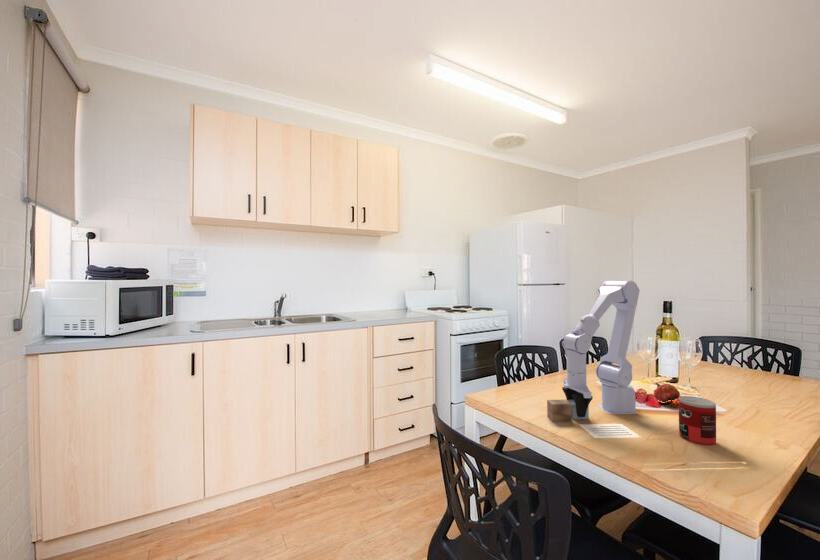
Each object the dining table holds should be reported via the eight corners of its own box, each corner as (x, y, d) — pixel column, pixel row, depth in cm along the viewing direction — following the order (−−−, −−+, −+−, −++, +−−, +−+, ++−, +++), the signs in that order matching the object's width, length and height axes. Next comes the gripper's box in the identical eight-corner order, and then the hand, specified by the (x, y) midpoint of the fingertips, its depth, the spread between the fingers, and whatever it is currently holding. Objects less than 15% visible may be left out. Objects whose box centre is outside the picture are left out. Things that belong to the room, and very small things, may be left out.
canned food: (679, 431, 102) (679, 394, 102) (715, 439, 97) (715, 399, 97) (678, 441, 96) (677, 401, 96) (716, 450, 91) (716, 407, 91)
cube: (580, 414, 116) (580, 399, 116) (588, 420, 111) (588, 404, 111) (565, 414, 116) (565, 399, 116) (573, 421, 111) (572, 405, 111)
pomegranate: (683, 411, 122) (664, 387, 130) (692, 400, 118) (671, 375, 126) (662, 414, 122) (644, 390, 130) (671, 403, 118) (651, 378, 125)
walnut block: (565, 418, 113) (565, 399, 113) (571, 423, 109) (571, 404, 109) (547, 418, 113) (547, 399, 113) (552, 423, 109) (552, 404, 109)
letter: (621, 424, 107) (621, 423, 107) (641, 437, 98) (641, 437, 98) (579, 425, 107) (579, 424, 107) (595, 438, 98) (595, 437, 98)
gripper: (554, 365, 121) (555, 405, 121) (574, 377, 106) (575, 422, 106) (575, 365, 121) (575, 404, 121) (598, 377, 106) (598, 422, 106)
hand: (576, 413), depth 113 cm, fingers closed on cube, 5 cm apart
